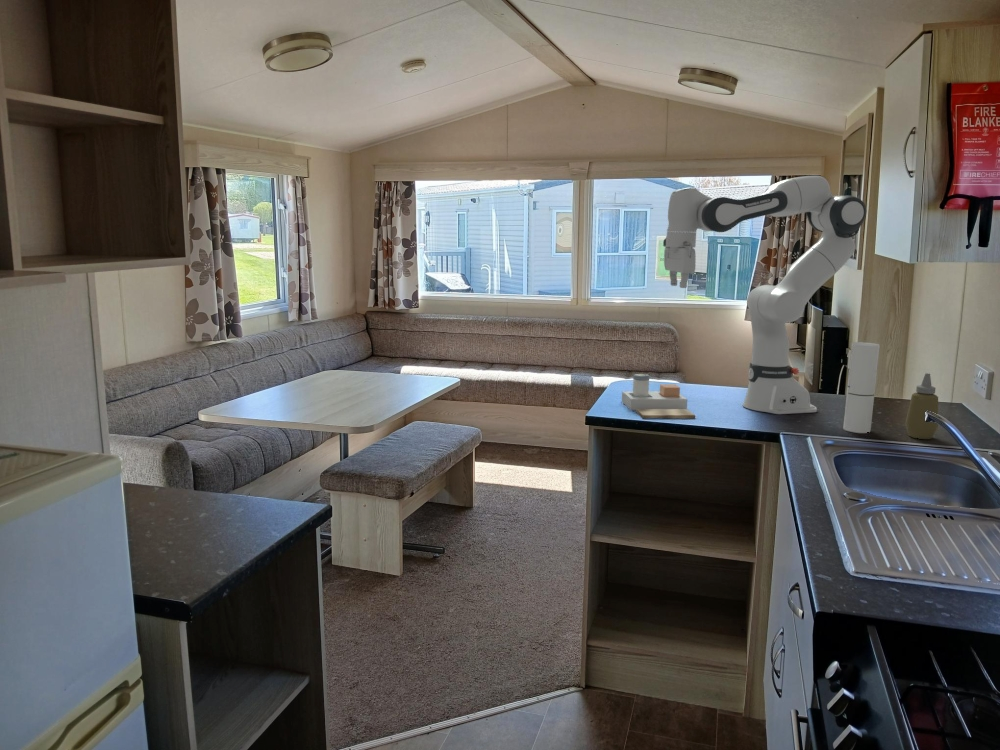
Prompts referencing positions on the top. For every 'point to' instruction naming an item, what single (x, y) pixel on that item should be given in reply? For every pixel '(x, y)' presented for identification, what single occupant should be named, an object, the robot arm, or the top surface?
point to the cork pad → (665, 413)
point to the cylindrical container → (861, 387)
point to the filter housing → (653, 401)
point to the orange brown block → (669, 390)
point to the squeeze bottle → (922, 410)
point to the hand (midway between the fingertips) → (678, 286)
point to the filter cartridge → (640, 385)
